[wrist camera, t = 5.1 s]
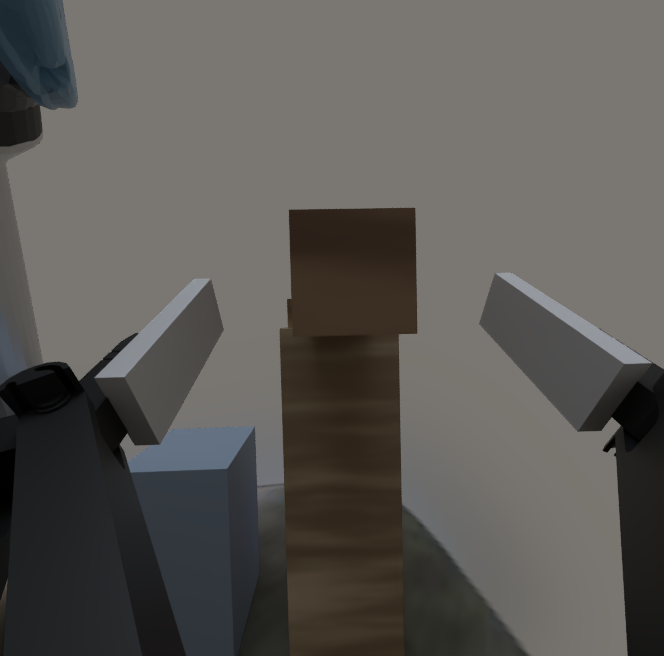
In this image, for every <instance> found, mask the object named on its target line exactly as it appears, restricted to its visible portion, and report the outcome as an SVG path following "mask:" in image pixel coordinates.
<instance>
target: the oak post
mask: <svg viewBox="0 0 664 656" xmlns="http://www.w3.org/2000/svg"><path fill="white" fill-rule="evenodd" d="M287 308H288V327H286V328H281V329H280V355H281V356H280V357H281V387H282V388H281V390H282V422H283V454H284V487H285V520H286V553H287V585H288V618H289V650H290V656H404V607H403V552H402V498H401V444H400V391H399V390H400V388H399V334H382V335H345V336H307V337H293V330H292V299H287Z"/></svg>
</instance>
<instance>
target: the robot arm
mask: <svg viewBox="0 0 664 656" xmlns="http://www.w3.org/2000/svg"><path fill="white" fill-rule="evenodd" d="M77 102H78V95H77V88H76V80H75V73H74V67H73V61H72V57H71V51H70V45H69V39H68V32H67V27H66V22H65V14H64V8H63V2H62V0H0V599H1V596H2V593H3V590H4V588H5V585H6V582H7V579H8V584H7V601H6V617H5V633H4V649H3V656H186V654H185V650H184V647H183V644H182V641H181V637H180V634H179V631H178V627H177V624H176V621H175V618H174V614H173V611H172V608H171V604H170V601H169V598H168V594H167V591H166V588H165V585H164V581H163V578H162V575H161V571H160V568H159V565H158V562H157V558H156V555H155V552H154V548H153V545H152V542H151V539H150V535H149V532H148V529H147V525H146V522H145V519H144V516H143V512H142V509H141V506H140V502H139V499H138V496H137V492H136V489H135V486H134V483H133V479H132V476H131V473H130V469H129V466H128V463H127V460H126V457H125V453H124V451H123V449H122V447H121V446H120V443H121V441H122V440H123V438H124V437H125V436H126V434H127V433H128V435H129V437H130V438H131V440H132V442H133V443H134V445H160V444H161V442H162V440H163V438H164V437H165V435H166V433H167V431H168V429H169V427H170V426H171V424H172V422H173V420H174V419H175V417H176V415H177V413H178V411H179V409H180V408H181V406H182V404H183V402H184V400H185V398H186V397H187V395H188V393H189V391H190V390H191V388H192V386H193V384H194V382H195V381H196V379H197V377H198V375H199V373H200V371H201V370H202V368H203V366H204V364H205V362H206V361H207V359H208V357H209V355H210V353H211V351H212V349H213V348H214V346H215V344H216V343H217V341H218V339H219V337H220V335H221V333H222V332H223V325H222V321H221V317H220V313H219V309H218V305H217V301H216V298H215V293H214V289H213V285H212V281H211V279H193V281H191V282H190V283H189V284H188V285H187V286H186V287H185V289H183V290H182V291H181V292H180V293H179V294H178V295H177V296H176V297H175V298H174V299H173V300H172V301H171V302H170V303H169V304H168V305H167V306H166V307H165V308H164V309H163V310H162V311H161V312H160V313H159V314H158V315H157V316H156V317H155V318H154V319H153V320H152V321H151V322H150V323H149V324H148V325H147V326H146V327H145V328H144V329H143V330H142V331H141V332H140V333H135V334H133V335H132V336H130V337H128V338H126V339H125V340H123V341H121V342H120V343H119V344H118V345H117V346H116V347H115V348H114V349H113V350H112V352H111V353H108V355H106V356H105V357H104V358H103V360H101V361H100V362H99V363H98V364H97V365H96V366H95V367H94V368H93V369H91V370H90V372H88V373H87V374H86V375H85V376H84V377H83V378H82V379H81V380H80V381H78V380H77V378H76V376H75V375H74V373H73V371H72V370H71V369H70V367H69V366H68V365H67V364H66V363H63V362H51V363H44V364H43V361H42V355H41V350H40V345H39V339H38V334H37V329H36V323H35V318H34V313H33V307H32V302H31V297H30V291H29V286H28V280H27V275H26V270H25V264H24V259H23V254H22V248H21V244H20V238H19V233H18V227H17V222H16V216H15V211H14V205H13V200H12V195H11V190H10V184H9V179H8V173H7V168H6V162H7V161H8V160H9V159H11V158H13V157H15V156H17V155H19V154H21V153H23V152H25V151H27V150H29V149H31V148H33V147H35V146H36V145H38V144H39V143H40V141H41V140H42V122H41V112H40V106H43V107H46V108H48V109H52V110H55V109H57V108H73V107H75V106H76V104H77ZM479 324H480V325H481V326H482V327H483V329H484V330H485V331H486V332H487V333H488V334H489V335H490V336H491V337H492V338H493V339H494V341H495V342H496V343H497V344H498V345H499V346H500V347H501V348H502V349H503V350H504V351H505V352H506V354H507V355H508V356H509V357H510V358H511V359H512V360H513V361H514V362H515V364H516V365H517V366H518V367H519V368H520V369H521V370H522V371H523V372H524V373H525V374H526V376H528V378H529V379H530V380H531V381H532V382H533V383H534V384H535V385H536V386H537V387H538V389H539V390H540V391H541V392H542V393H543V394H544V395H545V396H546V397H547V398H548V400H549V401H550V402H551V403H552V404H553V405H554V406H555V407H556V408H557V409H558V410H559V412H560V413H561V414H562V415H563V416H564V417H565V418H566V419H567V420H568V421H569V423H570V424H571V425H572V426H573V427H574V428H575V429H576V430H577V431H578V432H579V431H601V430H602V429H603V428H604V426H605V425H606V424H607V423H608V421H609V420H610V419H611V417H612V418H614V419H615V420H616V421H617V422H618V423H619V424H620V425H621V426H620V428H619V429H618V430H617V431H616V433H615V434H614V435H613V436H612V438H611V439H610V440H609V442H608V443H607V444H606V445H605V446H604V449H603V451H604V452H608V451H609V450H610V449H611V448H615V447H616V453H615V454H614V456H616V460H617V477H618V494H619V513H620V528H621V529H620V530H621V547H622V564H623V581H624V599H625V616H626V633H627V651H628V656H664V369H662V368H660V367H659V366H657V365H656V364H654V363H653V362H651V361H649V360H648V359H646V358H645V357H643V356H641V355H640V354H638V353H637V352H635V351H634V350H632V349H631V348H629V347H627V346H625V345H624V344H623V343H621V342H620V341H618V340H616V339H614V338H613V337H612V336H610V335H609V334H607V333H605V332H604V331H602V330H601V329H599V328H597V327H595V326H594V325H592V324H591V323H589V322H587V321H586V320H584V319H583V318H581V317H580V316H578V315H576V314H575V313H573V312H572V311H570V310H569V309H567V308H565V307H564V306H562V305H561V304H559V303H558V302H556V301H555V300H553V299H551V298H550V297H548V296H547V295H545V294H544V293H542V292H540V291H539V290H537V289H536V288H534V287H532V286H531V285H529V284H528V283H526V282H525V281H523V280H522V279H520V278H519V277H517V276H515V275H514V274H512V273H495V275H494V278H493V281H492V285H491V288H490V291H489V294H488V297H487V301H486V304H485V307H484V310H483V313H482V316H481V320H480V323H479Z"/></svg>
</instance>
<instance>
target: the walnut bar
mask: <svg viewBox="0 0 664 656" xmlns="http://www.w3.org/2000/svg"><path fill="white" fill-rule="evenodd" d="M289 225H290V227H289V228H290V259H291V260H290V262H291V296H292V330H293V337H307V336H345V335H382V334H417V291H416V290H417V288H416V227H415V208H379V209H378V208H376V209H309V210H289Z"/></svg>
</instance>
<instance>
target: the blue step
mask: <svg viewBox="0 0 664 656" xmlns="http://www.w3.org/2000/svg"><path fill="white" fill-rule="evenodd" d="M127 463H128V466H129V469H130V473H131V476H132V479H133V483H134V486H135V489H136V492H137V496H138V499H139V502H140V506H141V509H142V512H143V516H144V519H145V522H146V525H147V529H148V532H149V535H150V539H151V542H152V545H153V548H154V552H155V555H156V558H157V562H158V565H159V568H160V571H161V575H162V578H163V581H164V585H165V588H166V591H167V594H168V598H169V601H170V604H171V608H172V611H173V614H174V618H175V621H176V624H177V627H178V631H179V634H180V637H181V641H182V644H183V647H184V650H185V654H186V656H238V654H239V650H240V646H241V642H242V638H243V634H244V630H245V626H246V623H247V619H248V615H249V611H250V607H251V603H252V599H253V595H254V592H255V588H256V584H257V580H258V576H259V572H260V564H259V535H258V505H257V475H256V447H255V427H254V426H251V427H222V428H196V429H195V428H193V429H173V430H172V431H170V432H169V433H167V434H166V435H165V437H164V438H163V440H162V442H161V444H160V445H151V446H149V447H148V448H147V449H145V450H144V451H143V452H141V453H140V454H138V455H137V456H136V457H134V458H133V459H132V460H130V461H129V462H127Z"/></svg>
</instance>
